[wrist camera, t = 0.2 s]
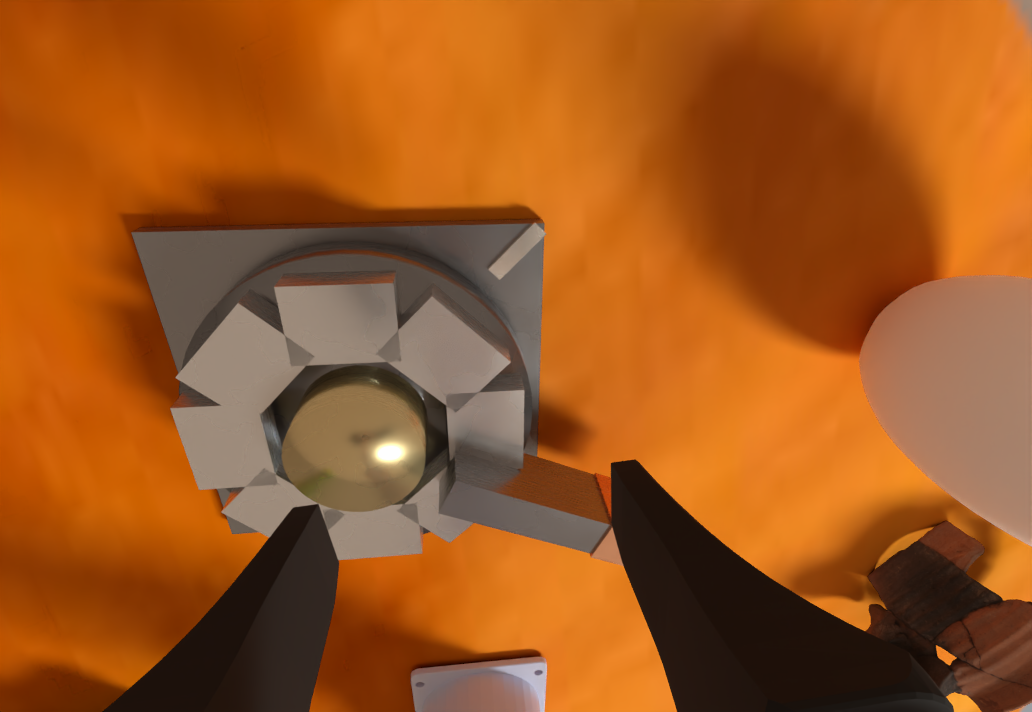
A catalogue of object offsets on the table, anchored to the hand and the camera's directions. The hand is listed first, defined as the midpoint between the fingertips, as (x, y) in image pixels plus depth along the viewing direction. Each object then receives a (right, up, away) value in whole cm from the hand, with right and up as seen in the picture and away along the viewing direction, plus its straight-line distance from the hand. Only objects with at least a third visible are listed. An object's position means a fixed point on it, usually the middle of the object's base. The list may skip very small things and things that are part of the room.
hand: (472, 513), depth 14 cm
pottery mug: (+26, -10, +20) cm, 34 cm away
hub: (-5, +2, +9) cm, 11 cm away
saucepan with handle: (-2, +1, +8) cm, 8 cm away
